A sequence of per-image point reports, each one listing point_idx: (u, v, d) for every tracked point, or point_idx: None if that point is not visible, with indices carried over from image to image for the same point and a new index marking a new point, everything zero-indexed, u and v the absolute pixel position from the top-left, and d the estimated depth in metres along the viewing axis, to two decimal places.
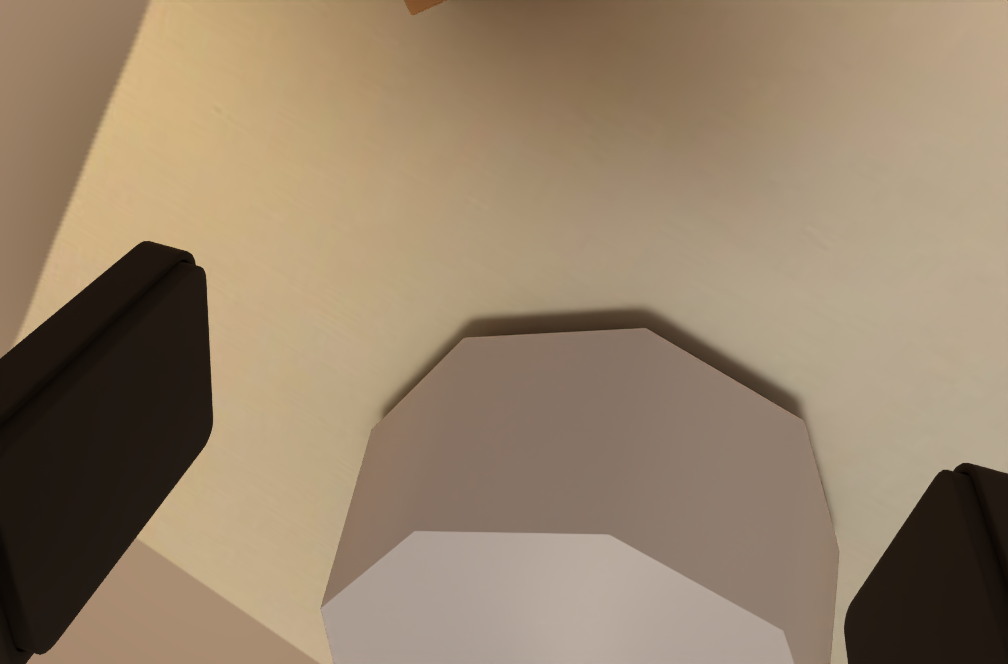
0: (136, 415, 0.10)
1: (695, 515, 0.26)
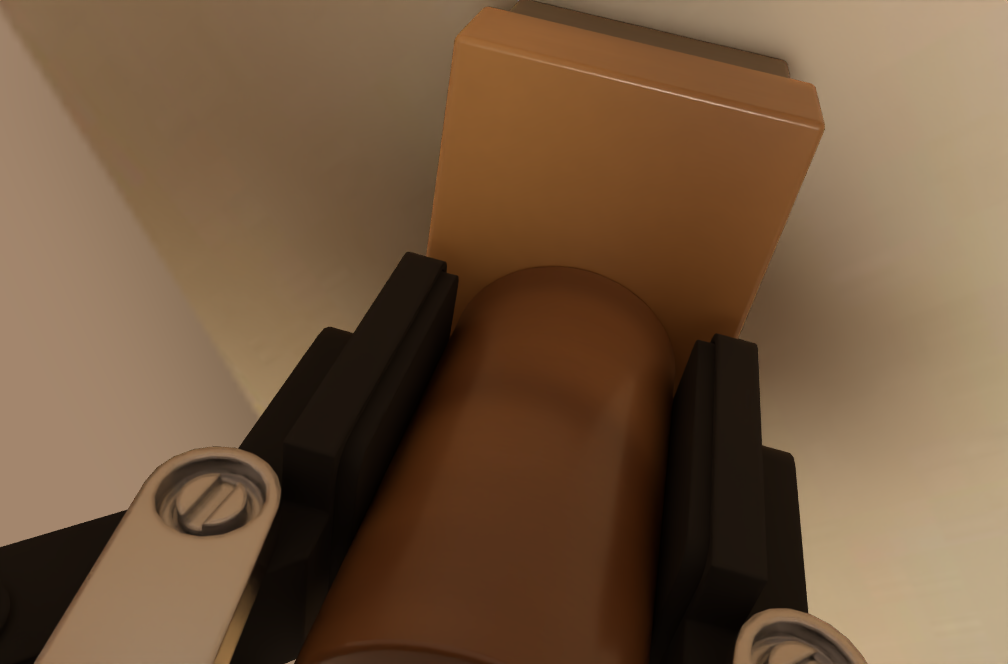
0: (413, 413, 0.10)
1: None
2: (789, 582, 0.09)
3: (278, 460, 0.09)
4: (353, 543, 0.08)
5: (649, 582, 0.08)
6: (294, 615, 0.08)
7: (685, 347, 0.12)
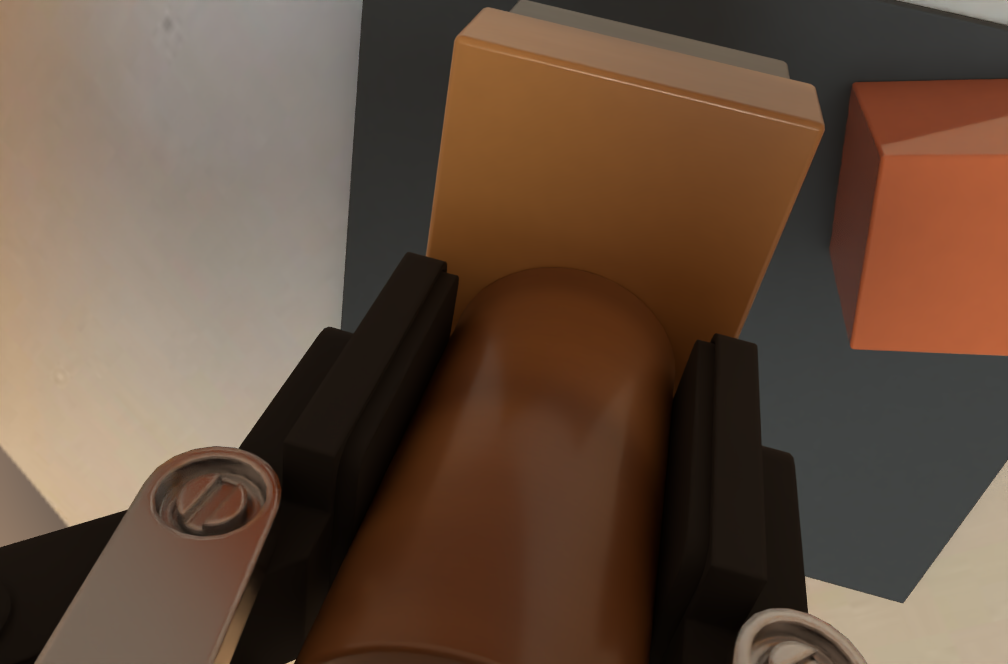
0: (413, 413, 0.10)
1: None
2: (790, 581, 0.09)
3: (278, 460, 0.09)
4: (352, 544, 0.08)
5: (649, 583, 0.08)
6: (294, 615, 0.08)
7: (685, 348, 0.12)
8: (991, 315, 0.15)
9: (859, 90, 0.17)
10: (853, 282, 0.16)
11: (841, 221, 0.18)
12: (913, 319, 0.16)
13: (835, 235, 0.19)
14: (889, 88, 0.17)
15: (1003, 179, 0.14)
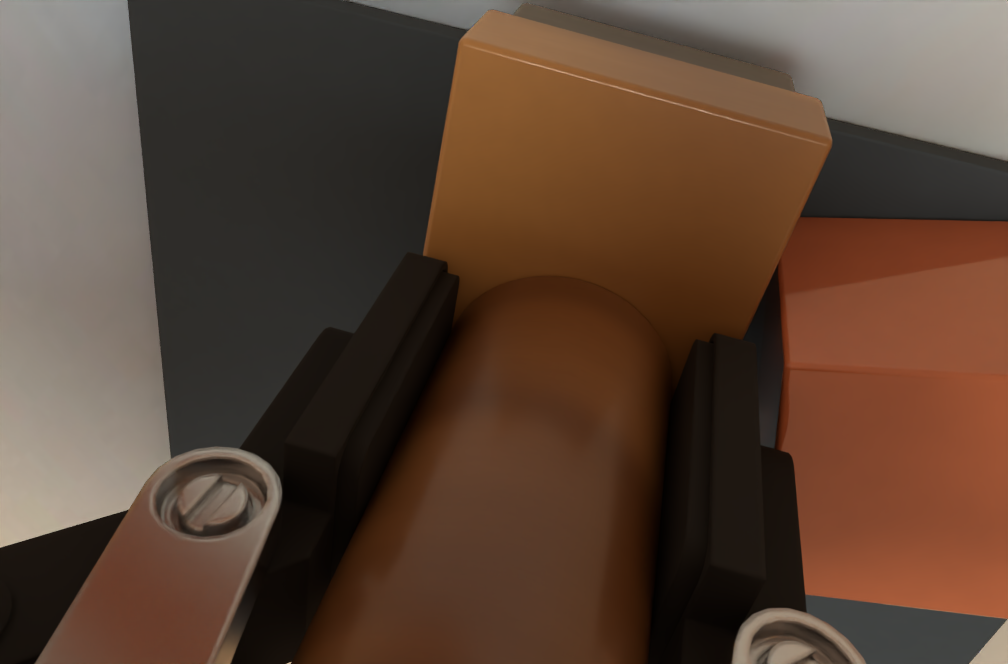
0: None
1: None
2: (788, 581, 0.09)
3: (279, 460, 0.09)
4: (344, 558, 0.08)
5: (647, 604, 0.08)
6: (295, 615, 0.08)
7: (683, 361, 0.11)
8: (947, 567, 0.11)
9: None
10: None
11: (761, 394, 0.14)
12: (840, 562, 0.11)
13: None
14: (820, 230, 0.13)
15: (959, 404, 0.10)
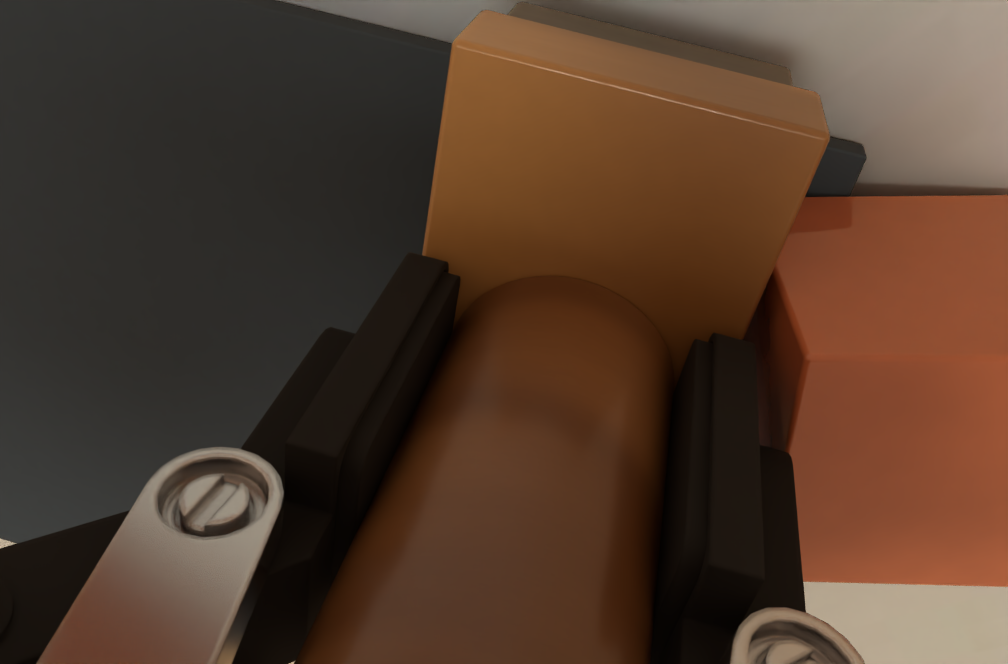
0: None
1: None
2: (788, 581, 0.09)
3: (280, 461, 0.09)
4: (344, 563, 0.08)
5: (648, 605, 0.08)
6: (296, 616, 0.08)
7: (684, 359, 0.11)
8: (946, 543, 0.11)
9: None
10: None
11: None
12: (843, 548, 0.11)
13: None
14: (798, 212, 0.12)
15: (974, 387, 0.10)
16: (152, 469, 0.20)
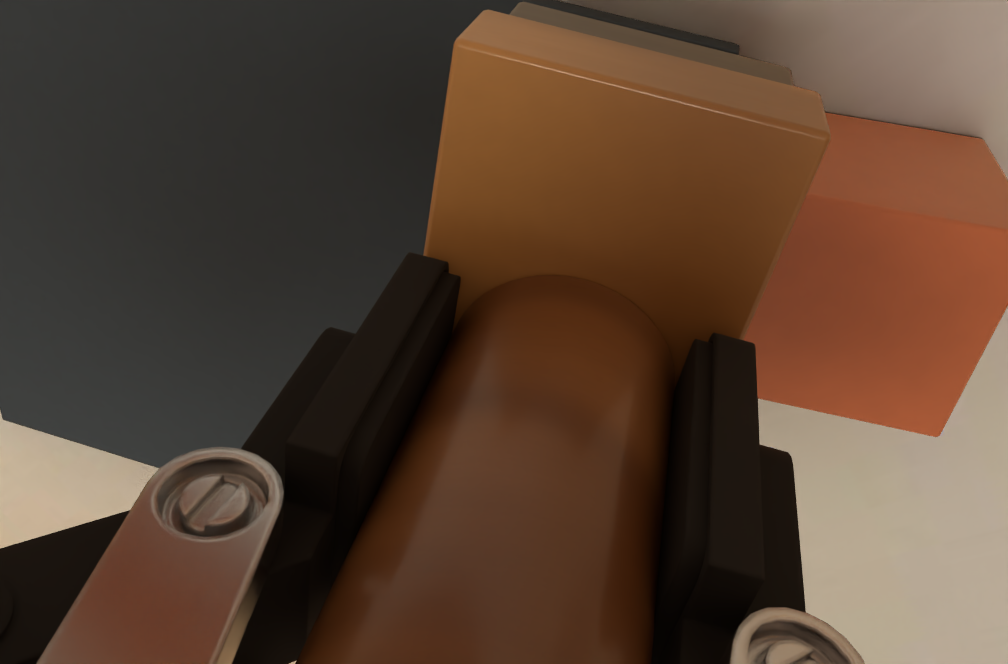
0: None
1: None
2: (787, 581, 0.09)
3: (280, 461, 0.09)
4: (346, 561, 0.08)
5: (649, 603, 0.08)
6: (296, 616, 0.08)
7: (685, 358, 0.11)
8: (857, 377, 0.14)
9: None
10: None
11: None
12: (777, 368, 0.15)
13: None
14: None
15: (891, 236, 0.13)
16: (164, 355, 0.23)
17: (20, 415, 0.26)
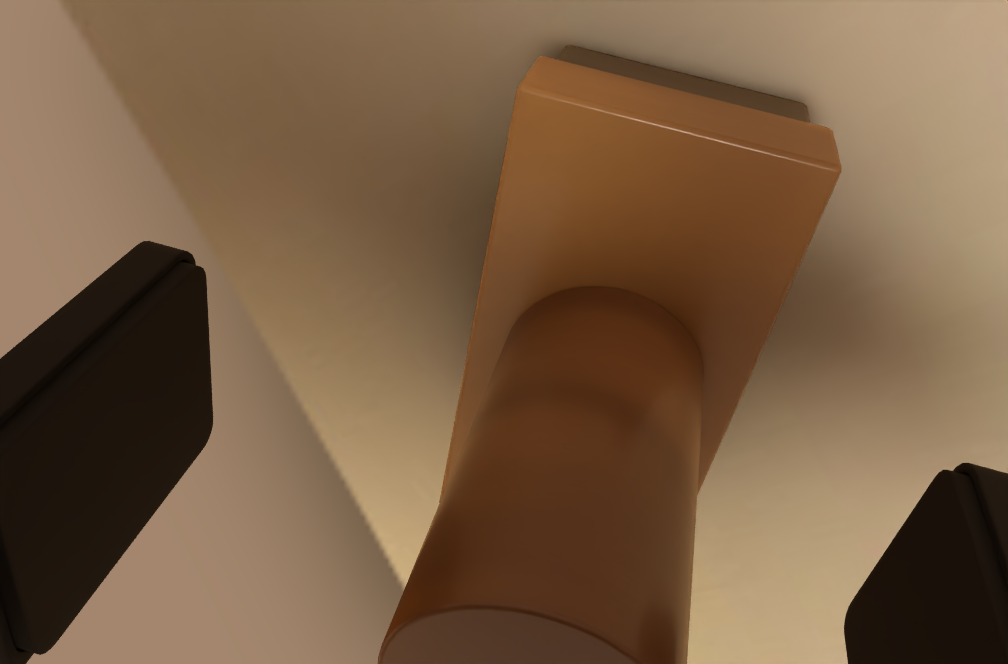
0: (136, 415, 0.10)
1: None
2: None
3: None
4: (434, 526, 0.10)
5: (688, 562, 0.10)
6: None
7: (713, 359, 0.13)
8: None
9: None
10: None
11: None
12: None
13: None
14: None
15: None
16: None
17: None
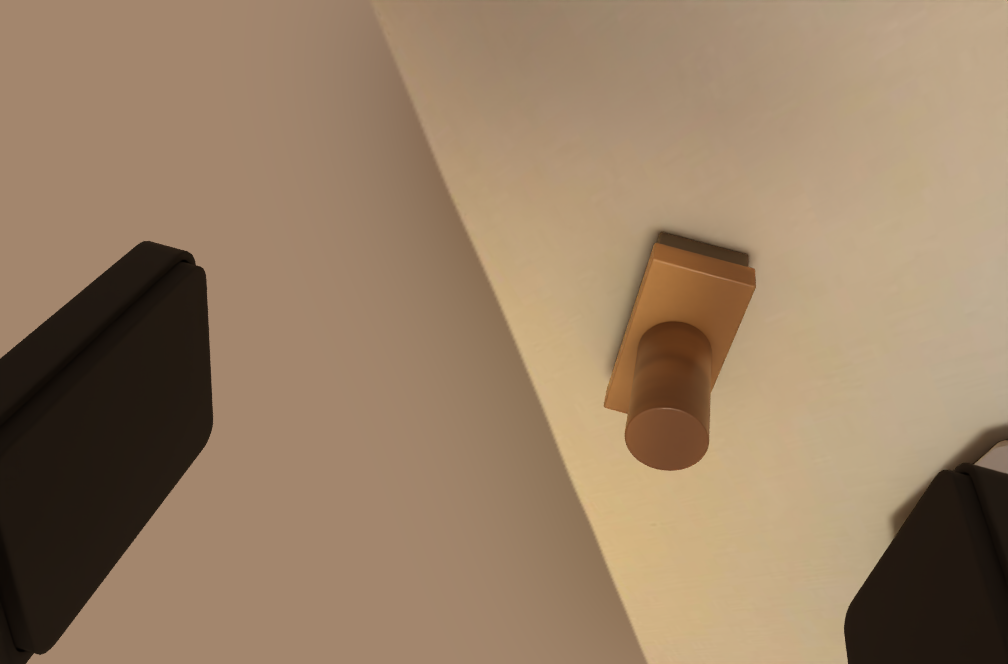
0: (136, 415, 0.10)
1: None
2: None
3: None
4: (636, 394, 0.34)
5: (709, 404, 0.34)
6: None
7: (715, 346, 0.37)
8: None
9: None
10: None
11: None
12: None
13: None
14: None
15: None
16: None
17: None
